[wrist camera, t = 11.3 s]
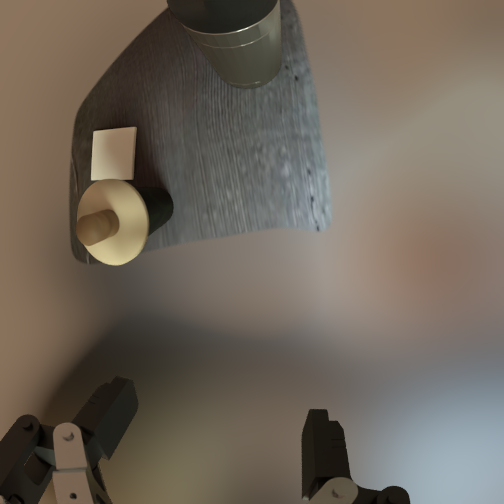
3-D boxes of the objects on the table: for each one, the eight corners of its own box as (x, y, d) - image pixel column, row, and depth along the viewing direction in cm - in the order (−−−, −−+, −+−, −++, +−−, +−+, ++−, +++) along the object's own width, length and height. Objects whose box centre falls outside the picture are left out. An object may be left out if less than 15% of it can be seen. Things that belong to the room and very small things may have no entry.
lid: (80, 179, 28) (53, 182, 23) (150, 178, 27) (126, 181, 22) (83, 257, 30) (59, 270, 26) (150, 267, 29) (129, 284, 25)
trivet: (95, 131, 38) (93, 131, 37) (136, 127, 37) (134, 126, 36) (93, 179, 40) (91, 180, 39) (133, 179, 39) (131, 179, 39)
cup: (155, 242, 41) (113, 267, 30) (125, 204, 40) (77, 217, 29) (190, 209, 40) (155, 225, 28) (158, 170, 38) (114, 171, 27)
